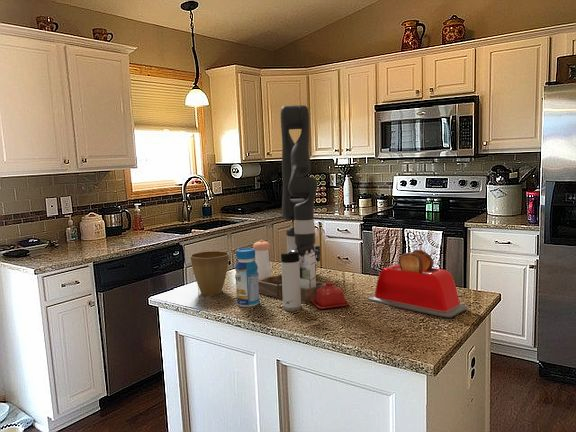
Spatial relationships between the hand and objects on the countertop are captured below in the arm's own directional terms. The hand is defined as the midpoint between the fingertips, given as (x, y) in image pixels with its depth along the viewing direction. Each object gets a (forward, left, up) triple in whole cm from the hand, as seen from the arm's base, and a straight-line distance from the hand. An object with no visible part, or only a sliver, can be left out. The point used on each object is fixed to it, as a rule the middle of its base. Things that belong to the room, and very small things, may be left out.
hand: (306, 275), depth 179 cm
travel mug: (+13, +5, -9) cm, 16 cm away
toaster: (-16, +36, -9) cm, 40 cm away
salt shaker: (-2, -27, -9) cm, 28 cm away
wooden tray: (0, -7, -8) cm, 11 cm away
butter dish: (+2, +13, -9) cm, 15 cm away
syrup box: (0, 0, -6) cm, 6 cm away
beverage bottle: (+19, -11, -9) cm, 24 cm away
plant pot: (+19, -33, -9) cm, 39 cm away
